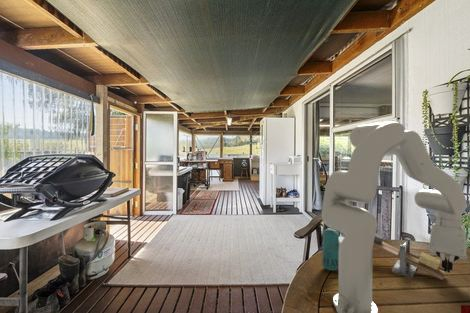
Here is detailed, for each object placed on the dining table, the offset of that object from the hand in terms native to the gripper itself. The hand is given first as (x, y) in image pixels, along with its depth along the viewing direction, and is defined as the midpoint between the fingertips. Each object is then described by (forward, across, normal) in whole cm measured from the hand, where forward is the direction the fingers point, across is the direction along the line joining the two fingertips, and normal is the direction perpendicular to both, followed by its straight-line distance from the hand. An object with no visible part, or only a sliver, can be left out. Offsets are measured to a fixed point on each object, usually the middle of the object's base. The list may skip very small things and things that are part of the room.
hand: (447, 270), depth 92 cm
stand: (+4, -13, 0) cm, 14 cm away
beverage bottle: (+4, -35, -22) cm, 42 cm away
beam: (-1, -14, 0) cm, 15 cm away
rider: (0, -6, 0) cm, 6 cm away
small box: (+4, -33, -12) cm, 35 cm away
